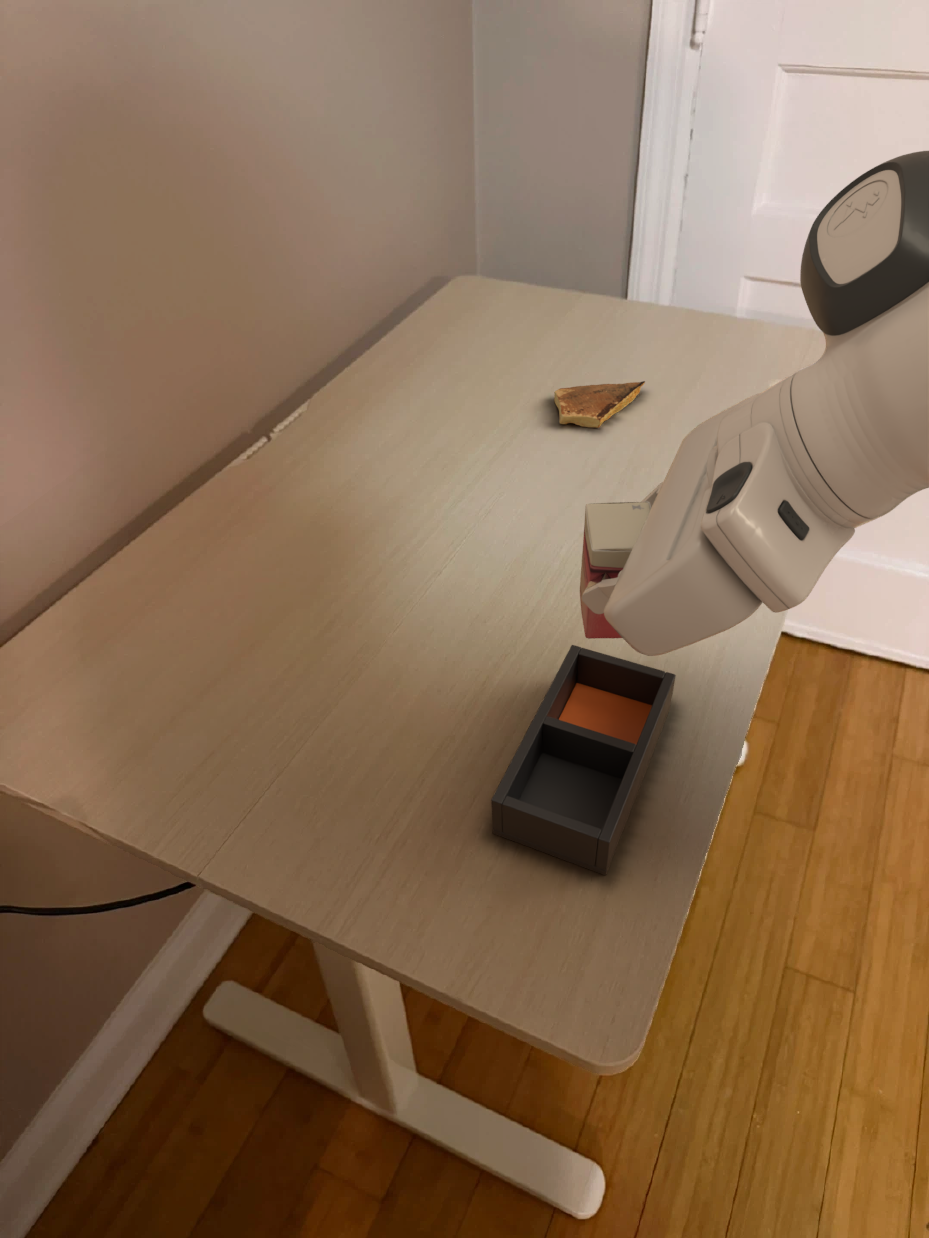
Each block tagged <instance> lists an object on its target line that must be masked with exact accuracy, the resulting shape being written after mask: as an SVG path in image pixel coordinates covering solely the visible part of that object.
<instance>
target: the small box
mask: <svg viewBox="0 0 929 1238" xmlns="http://www.w3.org/2000/svg"><path fill="white" fill-rule="evenodd" d="M650 510H651V505H650V502H641V501H623V502H622V501H620V502H619V501H618V502H617V501H616V502H590V503H586V504H585V508H584V524H583V525H584V526H583V539H582V553H581V566H580V567H581V568H580V579H579V580H580V581H579V600H580V611H581V619H582V625H583V626H582V627H583V631H584V637H585V638H586V639H589V640H590V639H623V638H622V637H621V636H620V635H619V634H618V633H617V631H616V630H615V629H614V628H613V627H612V626H611V625H610V624H609V622H608V621H607V620H606V618H605V616H604V613H603V614H595V613H594V612H592V611H591V610H590V609H589V607H588V606H587V605H586V604H585V603H584V602H583V601H582V595H583V593H584V591H585V589H586V587H587V585H588V583H589V582H590V581H591V580H593V579H596V578H597V577H598V576H600V575H602V574H604V573H607V574H608V575H609V576H610V577H611V578H617V577H618V574H619V572H620V571H622V570H623V568H624V566H625V564H626V562H627V559H628V557H629V555H630V553H631V551H632V549H633V546H634V544H635V542H636V540H637V538H638V536H639V533H640V531H641V529H642V527H643V525H644V523H645V520H646V518H647V516H648V514H649V512H650Z"/></svg>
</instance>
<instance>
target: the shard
mask: <svg viewBox="0 0 929 1238" xmlns="http://www.w3.org/2000/svg"><path fill="white" fill-rule="evenodd" d="M645 384H646V381H645V380H643V381H633V382H624V383H601V384H589V385H587V384H586V385H576V386H571V387H561V388H557V389H556V390H555V391H554V394H553V395H554V397H553V401H554V404H555V406H556V407H557V409H558V413H559V424H560V425H567V424H575V425H577V426H580V427H583V428H584V427H585V428H598V429H599V428H601V426H602V425H603V423H604V422H605V421H608V420H609V419H610V418H612V416H613V415H615V414H617V413H619V412H621V411H622V410H623V409H624V408H626V407H627V406H629V404H631V403H632V402H633V401H634V400H635V399H636V397H637V396H638V395H640V392H641V390H642V389H641V388H642V387H643V386H644V385H645Z"/></svg>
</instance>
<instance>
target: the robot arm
mask: <svg viewBox="0 0 929 1238" xmlns="http://www.w3.org/2000/svg"><path fill="white" fill-rule="evenodd" d="M799 270H800V274H799V275H800V277H799V281H800V287H801V288H800V289H801V292H802V294H803V297H804V301H805V303H806V305H807V309H808V312H809V313H810V316H811V318H812V319H813V321H814V323H815V325H816V326H817V327H818V329H819V330H820V331H821V332H822V333H823V336H824V340H825V346H824V347H825V348H824V351H823V353H822V355H821V356H820V357H819V358H818V359H817V360H816V361H814V362H812V363H810V364H809V365H807V366H803V367H801V368H798V370H796V371H794V372H793V373H791V374H790V375H788V376H787V377H785V378H783V379H781V380H780V381H778V382H776V383H775V384H773V385H771V386H769V388H766V389H765V390H763V391H760V392H758V393H755V394H753V395H751V396H749V397H747V398H745V399H742V400H741V401H739V402H737V403H735V404H733V405H731V406H730V407H727V408H726V409H723V410H722V411H720V412H719V413H716V414H715V415H713V416H710V418H708V419H706V420H704V421H702V422H701V423H699V424H698V425H697V426H696V427H694V428H693V429H692V430H690V432H688V434H686V436H684V438H683V439H682V440H681V443H680V445H679V447H678V449H677V451H676V453H675V455H674V458H673V459H672V462H671V465H670V467H669V469H668V471H667V473H666V475H665V478H664V480H663V481H662V482H660V483H659V484H658V485H656V487H654V489H652V491H650V492H649V493H648V494H647V495H646V496H645V497H644V498H643V499H642V500H641V501H640V502H650V505H651V510H650V512H649V514H648V516H647V518H646V520H645V523H644V525H643V527H642V529H641V531H640V533H639V536H638V538H637V540H636V542H635V544H634V546H633V549H632V551H631V553H630V555H629V557H628V559H627V562H626V564H625V566H624V568H623V570H622V571H620V572H619V574H618V577H617V578H611V577H610V576H609V575H608V574H607V573H604V574H602V575H600V576H598V577H597V578H596V579H593V580H591V581H590V582H589V583H588V585H587V587H586V589H585V591H584V593H583V595H582V601H583V602H584V603H585V604H586V605H587V606H588V607H589V609H590V610H591V611H592V612H594V613H595V614H603V613H604V616H605V618H606V620H607V621H608V622H609V624H610V625H611V626H612V627H613V628H614V629H615V630H616V631H617V633H618V634H619V635H620V636H621V637H622V638H621V639H623V641H625V642H626V643H627V644H628V646H630V647H631V648H632V649H633V650H634V651H635V652H637V653H639V654H641V655H644V656H648V657H656V656H662V655H664V654H668V653H671V652H675V651H677V650H681V649H682V648H685V647H688V646H691V645H693V644H696V643H699V642H701V641H703V640H706V639H709V638H711V637H714V636H716V635H718V634H721V633H723V632H726V631H727V630H730V629H732V628H734V627H736V626H737V625H739V624H741V623H742V622H744V621H746V620H747V619H748V618H750V617H751V616H752V615H753V614H754V613H755V612H756V611H757V610H758V609H759V608H760V607H761V606H762V604H763V605H765V606H766V607H767V608H768V609H769V610H770V611H771V612H772V613H774V614H775V613H782V612H785V611H788V610H790V609H793V608H795V607H797V606H799V605H800V604H802V603H803V602H804V601H806V600H807V599H808V597H809V596H810V594H811V593H812V591H813V590H814V588H815V586H816V584H817V583H818V582H819V579H820V578H821V577H822V575H823V573H824V572H825V570H826V568H827V567H828V566H829V564H830V562H831V561H832V560H833V559H834V558H835V556H836V555H837V554H838V552H839V551H840V550H841V549H842V548H843V547H844V546H845V545H846V544H847V543H848V542H849V541H850V540H851V539H852V538H853V536H854V535H855V533H856V529H857V528H859V527H861V526H863V525H866V524H868V523H870V522H873V521H876V520H877V519H879V518H882V517H884V516H885V515H887V514H889V513H891V512H892V511H893V510H894V509H896V508H897V507H898V506H899V505H901V504H902V503H903V502H904V501H905V500H907V499H908V498H910V497H911V496H913V495H914V494H917V493H918V492H920V491H923V490H927V489H929V150H922V151H914V152H910V153H905V154H902V155H899V156H896V157H894V158H891V159H889V160H887V161H884V162H881V163H879V164H878V165H876V166H874V167H872V168H870V169H869V170H867V171H865V172H863V173H862V174H861V175H860V176H858V177H856V178H855V179H854V180H852V181H850V183H848V184H847V185H846V186H845V187H844V188H843V189H841V190H840V191H839V192H838V193H837V194H836V195H834V196H833V198H831V199H830V200H829V202H828V203H826V205H825V206H824V207H823V208H822V210H821V211H820V212H819V214H818V215H817V216H816V218H815V219H814V221H813V223H812V225H811V227H810V229H809V233H808V235H807V238H806V241H805V243H804V247H803V251H802V256H801V263H800V269H799Z"/></svg>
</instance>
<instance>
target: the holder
mask: <svg viewBox="0 0 929 1238" xmlns="http://www.w3.org/2000/svg"><path fill="white" fill-rule="evenodd" d="M676 676H677V675H676V674H675V673H672V672H669V671H665V670H662V669H658V668H656V667H655V668H654V667H651V666H649V665H644V664H641V663H637V662H634V661H630V660H626V659H623V658H620V657H616V656H613V655H609V654H606V653H602V652H598V651H595V650H592V649H589V648H585V647H581V646H579V645H575V644H571V646H570V648H569V650H568V651H567V653H566V656H565V657H564V659H563V660H562V662H561V664H560V667H559V669H558V670H557V673H556V674H555V677H554V679H553V680H552V682H551V684H550V685H549V688H548V690H547V691H546V694H545V696H544V697H543V700H542V701H541V703H540V705H539V707H538V709H537V711H536V712H535V714H534V717H533V719H532V720H531V722H530V725H529V726H528V728H527V730H526V731H525V734H524V736H523V738H522V740H521V742H520V744H519V746H518V747H517V749H516V751H515V753H514V755H513V757H512V759H511V761H510V763H509V765H508V767H507V769H506V770H505V772H504V774H503V776H502V778H501V780H500V782H499V784H498V786H497V787H496V790H495V792H494V793H493V795H492V797H491V800H490V804H491V806H490V807H491V827H492V829H491V831H492V834H494V835H497V836H499V837H501V838H504V839H507V840H509V841H513V842H515V843H518V844H520V845H523V846H526V847H528V848H531V849H532V850H533V849H534V850H536V851H539V852H542V853H544V854H547V855H550V856H552V857H555V858H558V859H559V860H563V861H566V862H568V863H571V864H574V865H576V866H579V867H582V868H584V869H587V870H590V871H593V872H594V873H598V874H600V875H603V876H606V875H607V874H608V871H609V868H610V865H611V863H612V860H613V858H614V855H615V853H616V850H617V848H618V845H619V843H620V839H621V836H622V835H623V832H624V829H625V827H626V824H627V822H628V819H629V817H630V815H631V811H632V809H633V807H634V803H635V801H636V798H637V796H638V793H639V791H640V788H641V785H642V783H643V780H644V777H645V775H646V772H647V769H648V768H649V765H650V762H651V759H652V757H653V755H654V751H655V749H656V747H657V743H658V741H659V739H660V736H661V733H662V732H663V728H664V725H665V724H666V720H667V719H668V715H669V713H670V710H671V704H672V699H673V694H674V688H675V684H676V683H675V682H676V678H677V677H676Z"/></svg>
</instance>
